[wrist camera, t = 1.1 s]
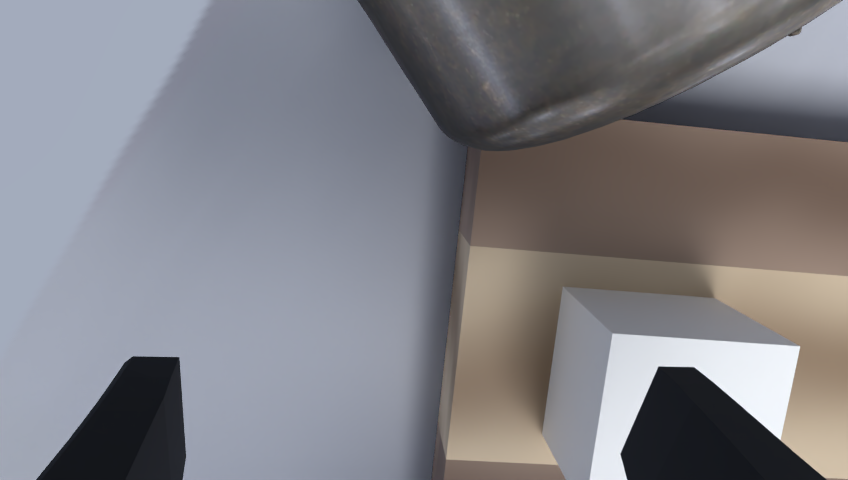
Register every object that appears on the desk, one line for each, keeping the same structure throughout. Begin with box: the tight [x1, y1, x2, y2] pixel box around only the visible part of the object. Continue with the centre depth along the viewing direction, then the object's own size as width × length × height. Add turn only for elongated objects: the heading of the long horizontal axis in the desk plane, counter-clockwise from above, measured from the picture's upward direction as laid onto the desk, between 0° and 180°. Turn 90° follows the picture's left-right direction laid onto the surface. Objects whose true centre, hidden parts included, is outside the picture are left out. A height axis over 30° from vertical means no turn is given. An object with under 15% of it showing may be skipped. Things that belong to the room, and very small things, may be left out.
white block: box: [542, 287, 800, 480], centre depth 18 cm, size 4×4×4 cm
